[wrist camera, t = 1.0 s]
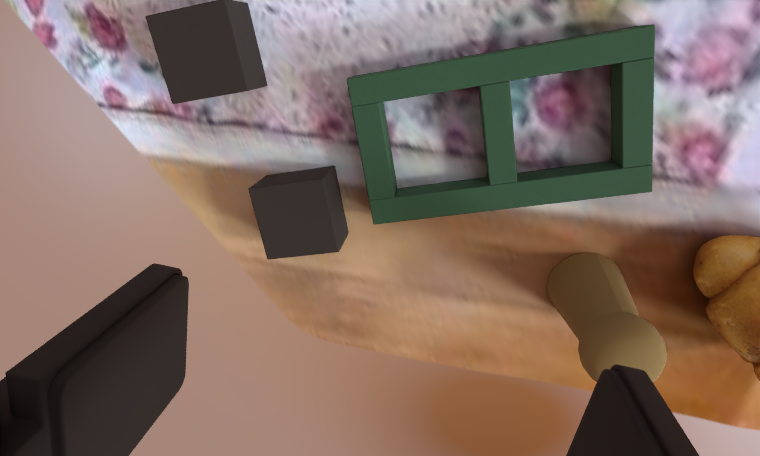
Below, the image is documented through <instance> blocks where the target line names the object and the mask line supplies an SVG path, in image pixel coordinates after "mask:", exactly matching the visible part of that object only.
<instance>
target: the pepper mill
mask: <svg viewBox="0 0 760 456" xmlns="http://www.w3.org/2000/svg"><path fill="white" fill-rule="evenodd" d="M547 291H548V295H549V299H550V300H551V302H552V303H553V304H554V306H555V307H556V309H557V310H558V312H559V313H560V314H561V316H562V317H563V319H564V320H565V321H566V323H567V324H568V326H569V327H570V328H571V330H572V331H573V333H574V334H575V335H576V337H577V338H578V340H579V348H578V351H579V355H580V360H581V363H582V365H583V367H584V369H585V370H586V371H587V373H588V374H589V376H590V377H591V378H592V379H593V380H595V381H596V382H597V381H598V379H599V377H600V374H601V372H602V371H603V370H604V369H609V370H610V368H611V367H612V366H613V365H616V364H618V365H622V366H627V367H632V368H636V369H641V370H644V371H645V372H646V373H647V374H648V376H649V377H650V379H651V381H652V382H654V381H655V380H656V379H658V377H659V376H660V374H661V373H662V371H663V369H664V367H665V363H666V359H667V353H666V347H665V343H664V340H663V339H662V337H661V335H660V334H659V332H658V331H657V329H656V328H655V327H654V326H653V325H652V324H650V323H649V322H648V321H646V320H645V319H643V318H642V317H640V316H639V314H638V312H637V310H636V307H635V305H634V302H633V300H632V297H631V295H630V292H629V290H628V287H627V285H626V283H625V280H624V278H623V275H622V273H621V271H620V270H619V268H618V266H617V265H616V263H614V262H613V261H612V260H610V259H609V258H608V257H606V256H603V255H600V254H597V253H580V254H576V255H572V256H570V257H568V258H566V259H564V260H562V261H561V262H560V263H559V264H558V265H557V266H556V267H555V268H554V269H553V270H552V272H551V274H550V276H549V278H548V284H547Z"/></svg>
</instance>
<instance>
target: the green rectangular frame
mask: <svg viewBox="0 0 760 456" xmlns="http://www.w3.org/2000/svg"><path fill="white" fill-rule="evenodd" d="M654 44H655V25H643V26H636V27H630V28H624V29H619V30H613V31H607V32H602V33H596V34H590V35H584V36H579V37H573V38H567V39H562V40H556V41H550V42H545V43H539V44H533V45H528V46H522V47H516V48H511V49H505V50H499V51H494V52H488V53H482V54H477V55H471V56H465V57H460V58H454V59H448V60H443V61H437V62H431V63H426V64H420V65H414V66H409V67H403V68H397V69H392V70H386V71H380V72H375V73H369V74H363V75H358V76H353V77H350V78H348V79H347V84H348V90H349V95H350V100H351V106H352V111H353V117H354V122H355V127H356V133H357V138H358V143H359V149H360V154H361V159H362V165H363V170H364V175H365V181H366V186H367V191H368V197H369V200H370V201H369V202H370V207H371V213H372V218H373V223H374V224H381V223H390V222H398V221H407V220H416V219H424V218H433V217H441V216H450V215H458V214H467V213H475V212H484V211H492V210H501V209H509V208H518V207H526V206H535V205H543V204H552V203H560V202H569V201H577V200H586V199H594V198H603V197H611V196H620V195H628V194H637V193H645V192H652V165H651V164H652V153H653V98H654V58H653V57H654ZM609 64H611V142H612V161H606V162H599V163H591V164H583V165H576V166H568V167H560V168H552V169H545V170H537V171H529V172H522V173H517V171H516V158H515V146H514V133H513V120H512V107H511V95H510V82H509V81H512V80H518V79H524V78H530V77H536V76H543V75H549V74H555V73H561V72H567V71H573V70H579V69H585V68H591V67H597V66H603V65H609ZM476 86H478V88H479V98H480V108H481V118H482V128H483V138H484V148H485V158H486V169H487V177H483V178H476V179H468V180H460V181H453V182H445V183H437V184H430V185H422V186H414V187H406V188H399V189H397V183H396V176H395V170H394V164H393V158H392V152H391V146H390V140H389V134H388V128H387V122H386V116H385V110H384V104H383V102H384V101H390V100H397V99H403V98H409V97H415V96H421V95H427V94H433V93H439V92H445V91H451V90H457V89H463V88H470V87H476Z"/></svg>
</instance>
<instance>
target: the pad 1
mask: <svg viewBox="0 0 760 456" xmlns="http://www.w3.org/2000/svg"><path fill="white" fill-rule="evenodd" d="M146 20H147V23H148V26H149V30H150V33H151V36H152V39H153V42H154V46H155V49H156V52H157V55H158V59H159V62H160V65H161V68H162V72H163V75H164V78H165V81H166V85H167V88H168V91H169V94H170V98H171V101H172V103H173V104H176V103H182V102H187V101H193V100H199V99H204V98H210V97H215V96H221V95H227V94H232V93H238V92H243V91H249V90H253V89H257V88H261V87H265V86H267V82H266V78H265V73H264V69H263V65H262V61H261V57H260V53H259V49H258V44H257V40H256V36H255V32H254V28H253V24H252V20H251V15H250V11H249V7H248V4H247V3H243V2H238V1H233V0H217V1H212V2H208V3H203V4H199V5H194V6H189V7H185V8H180V9H176V10H171V11H166V12H162V13H157V14H153V15H148V16H146Z"/></svg>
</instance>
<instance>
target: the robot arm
mask: <svg viewBox="0 0 760 456" xmlns="http://www.w3.org/2000/svg"><path fill="white" fill-rule="evenodd" d="M188 288H189V283H188V278H187V277H185V276H182V272H181V270H180V269H179V268H174V267H169V266H165V265H160V264H152V265H150V266H149V267H147V268H146V269H145V270H143V271H142V272H141V273H140V274H138V275H137V276H136V277H134V278H133V279H131V280H130V281H129V282H127V283H126V284H125V285H123V286H122V287H120V288H119V289H118V290H116V291H115V292H114V293H112V294H111V295H110V296H108V297H107V298H106V299H104V300H103V301H102V302H100V303H99V304H98V305H96V306H95V307H94V308H92V309H91V310H89V311H88V312H87V313H85V314H84V315H83V316H82V317H80V318H79V319H77V320H76V321H75V322H73V323H72V324H71V325H69V326H68V327H67V328H65V329H64V330H63V331H61V332H60V333H58V334H57V335H56V336H54V337H53V338H52V339H50V340H49V341H48V342H46V343H45V344H44V345H42V346H41V347H40V348H38V349H37V350H36V351H34V352H33V353H32V354H30V355H29V356H27V357H26V358H25V359H23V360H22V361H21V362H19V363H18V364H17V365H15V366H14V367H13V368H11V369H10V370H9V371H7V372H6V377H5V378H4V379H2V380H1V381H0V456H129V455H130V453H131V452H132V451H133V449H134V448H135V447H136V446H137V444H138V443H139V442H140V440H141V439H142V438H143V436H144V435H145V434H146V433H147V431H148V430H149V428H150V427H151V426H152V425H153V423H154V422H155V421H156V419H157V418H158V417H159V416H160V414H161V413H162V412H163V410H164V409H165V408H166V407H167V405H168V404H169V403H170V401H171V400H172V398H173V397H174V396H175V395H176V393H177V392H178V391H179V389H180V388H181V386H182V384H183V381H184V378H185V369H186V368H185V367H186V342H187V314H188ZM566 456H699V455H698V453H697V452H696V450H695V448H694V447H693V445H692V444H691V442H690V440H689V439H688V438H687V436H686V434H685V433H684V431H683V429H682V428H681V426H680V425H679V423H678V422H677V420H676V418H675V417H674V415H673V414H672V412H671V411H670V409H669V407H668V406H667V404H666V403H665V401H664V399H663V398H662V396H661V395H660V393H659V392H658V390H657V388H656V387H655V385H654V384H653V382H652V381H651V379H650V377H649V376H648V374H647V373H646V372H645V371H644V370H641V369H636V368H632V367H627V366H622V365H618V364H616V365H613V366H612V367H611V368H610V370H609V369H604V370H603V371H602V372H601V374H600V377H599V379H598V381H597V384H596V386H595V389H594V391H593V393H592V396H591V398H590V401H589V403H588V405H587V408H586V410H585V413H584V415H583V417H582V420H581V422H580V425H579V427H578V429H577V432H576V434H575V436H574V439H573V441H572V444H571V446H570V448H569V451H568V453H567V455H566Z"/></svg>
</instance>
